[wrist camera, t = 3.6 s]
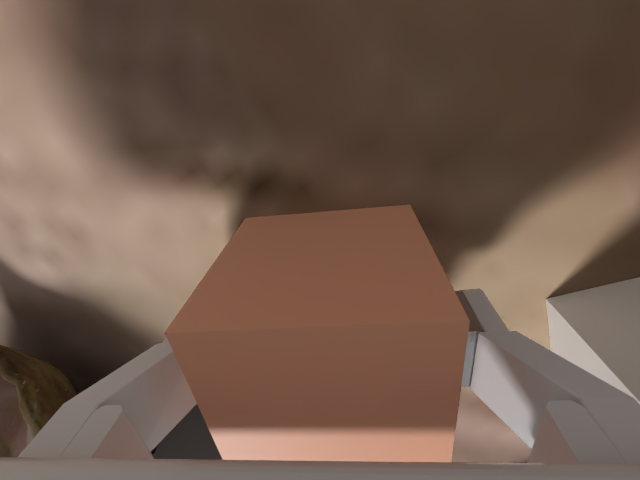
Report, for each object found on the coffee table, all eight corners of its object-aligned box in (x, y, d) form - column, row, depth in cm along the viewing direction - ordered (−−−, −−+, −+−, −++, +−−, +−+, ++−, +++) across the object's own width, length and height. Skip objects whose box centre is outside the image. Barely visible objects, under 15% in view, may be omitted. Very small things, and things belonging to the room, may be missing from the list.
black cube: (273, 357, 13) (234, 509, 8) (336, 426, 14) (331, 581, 10) (184, 393, 14) (110, 538, 10) (251, 451, 16) (215, 595, 11)
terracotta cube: (409, 203, 9) (469, 321, 5) (407, 330, 11) (447, 490, 7) (245, 217, 10) (164, 332, 5) (275, 335, 12) (234, 486, 8)
